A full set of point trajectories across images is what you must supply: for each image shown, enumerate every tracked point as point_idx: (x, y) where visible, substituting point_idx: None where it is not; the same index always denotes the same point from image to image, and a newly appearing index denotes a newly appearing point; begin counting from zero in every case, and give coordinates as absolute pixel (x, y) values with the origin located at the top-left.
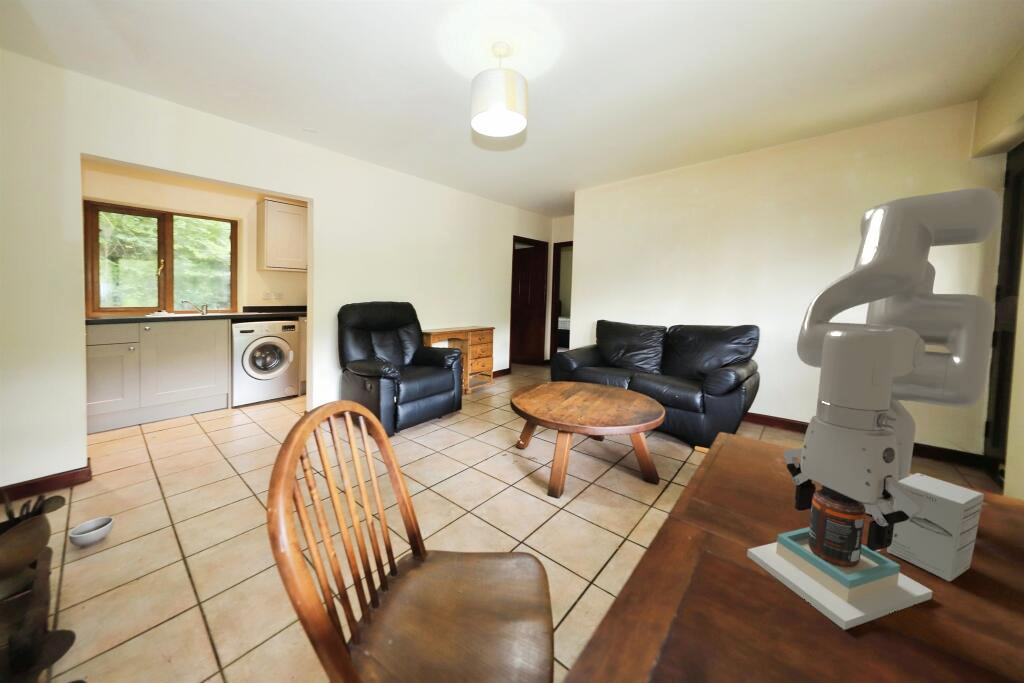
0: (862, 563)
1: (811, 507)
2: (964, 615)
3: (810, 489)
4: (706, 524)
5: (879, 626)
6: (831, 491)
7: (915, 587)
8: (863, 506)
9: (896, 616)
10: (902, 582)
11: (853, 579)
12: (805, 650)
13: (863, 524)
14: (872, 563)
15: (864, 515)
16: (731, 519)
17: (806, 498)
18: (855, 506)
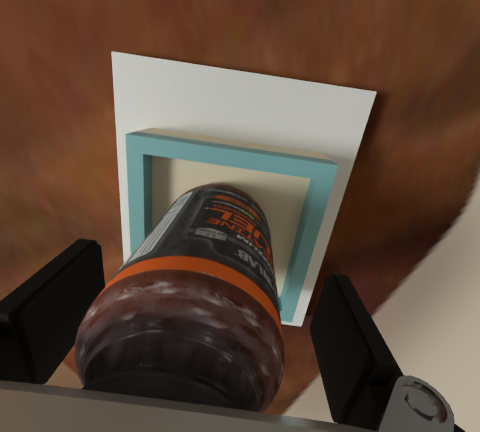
0: (268, 202)
1: (99, 254)
2: (422, 88)
3: (40, 333)
4: (26, 275)
5: (325, 268)
6: None
7: (348, 117)
8: (272, 358)
9: (335, 221)
10: (325, 125)
11: (293, 312)
12: (287, 373)
13: (278, 301)
14: (280, 178)
15: (282, 336)
16: (12, 213)
17: (74, 313)
18: (260, 405)
